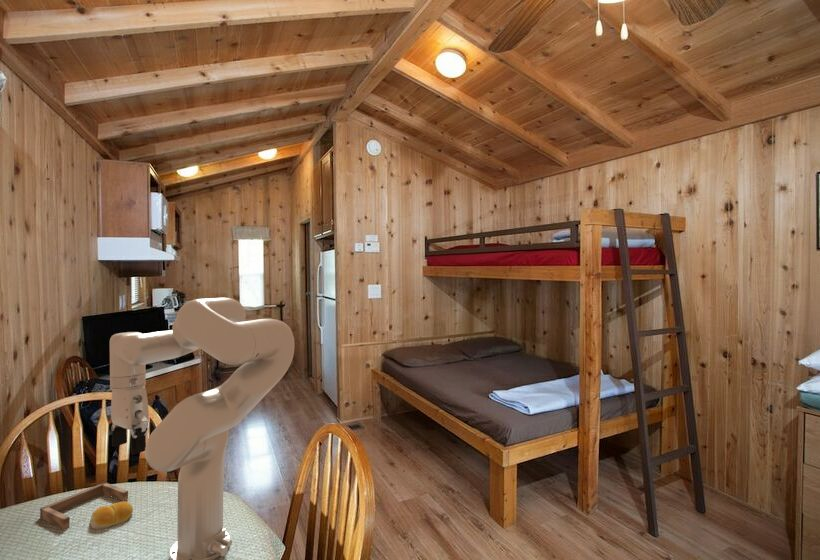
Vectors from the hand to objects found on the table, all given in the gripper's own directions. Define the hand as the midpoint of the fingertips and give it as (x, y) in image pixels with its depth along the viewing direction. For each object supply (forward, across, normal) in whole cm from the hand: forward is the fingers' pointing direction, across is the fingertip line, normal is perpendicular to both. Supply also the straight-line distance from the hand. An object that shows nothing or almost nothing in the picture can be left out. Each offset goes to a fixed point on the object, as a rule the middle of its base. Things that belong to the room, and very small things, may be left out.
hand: (128, 448), depth 105 cm
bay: (+19, +18, +3) cm, 26 cm away
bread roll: (+20, +7, +1) cm, 21 cm away
